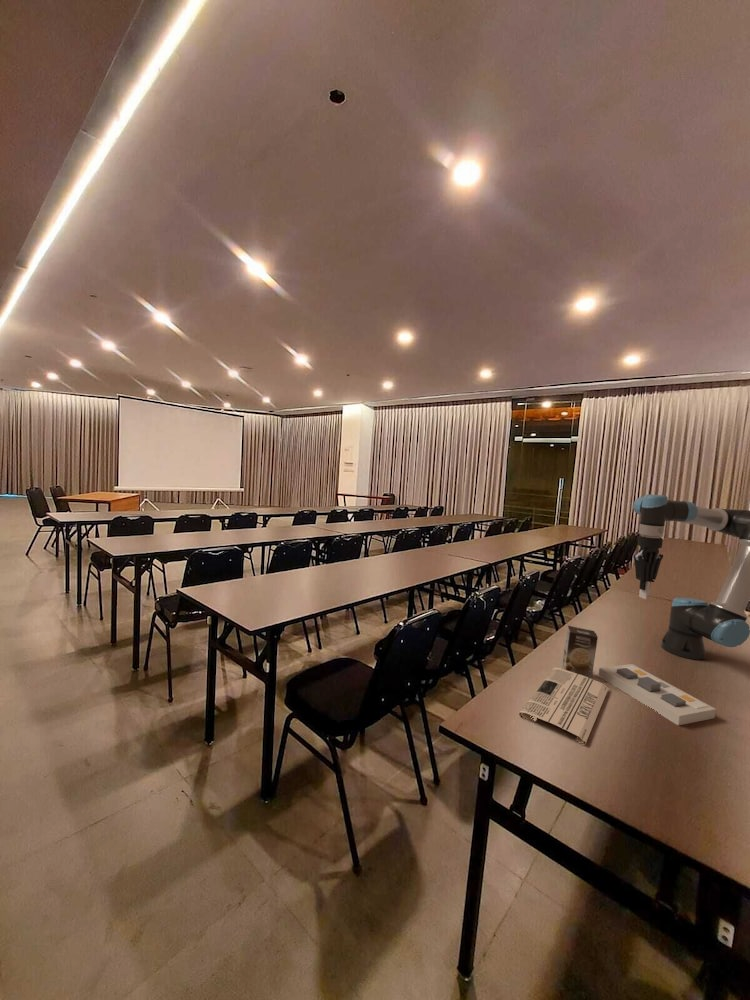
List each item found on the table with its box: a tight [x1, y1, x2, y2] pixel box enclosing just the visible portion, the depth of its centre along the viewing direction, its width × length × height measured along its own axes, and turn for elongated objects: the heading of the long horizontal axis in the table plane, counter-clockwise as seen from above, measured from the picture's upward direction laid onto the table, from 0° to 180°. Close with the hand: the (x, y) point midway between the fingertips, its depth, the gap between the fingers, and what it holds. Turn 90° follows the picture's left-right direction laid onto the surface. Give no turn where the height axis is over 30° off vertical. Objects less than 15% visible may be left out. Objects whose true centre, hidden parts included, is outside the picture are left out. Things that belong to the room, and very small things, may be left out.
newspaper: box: [518, 667, 609, 746], centre depth 126 cm, size 37×19×3 cm, turn 142°
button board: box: [598, 663, 717, 726], centre depth 134 cm, size 16×28×3 cm, turn 19°
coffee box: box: [561, 625, 599, 679], centre depth 145 cm, size 9×6×16 cm
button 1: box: [617, 668, 638, 679], centre depth 141 cm, size 4×4×3 cm
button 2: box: [661, 693, 686, 707], centre depth 126 cm, size 4×4×3 cm
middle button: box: [638, 677, 661, 693], centre depth 133 cm, size 4×4×3 cm
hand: (643, 597), depth 151 cm, fingers closed
